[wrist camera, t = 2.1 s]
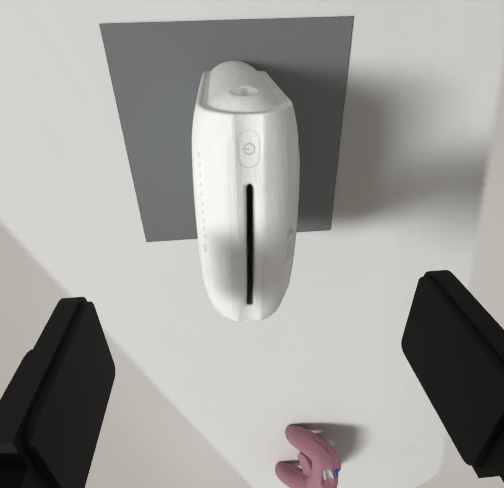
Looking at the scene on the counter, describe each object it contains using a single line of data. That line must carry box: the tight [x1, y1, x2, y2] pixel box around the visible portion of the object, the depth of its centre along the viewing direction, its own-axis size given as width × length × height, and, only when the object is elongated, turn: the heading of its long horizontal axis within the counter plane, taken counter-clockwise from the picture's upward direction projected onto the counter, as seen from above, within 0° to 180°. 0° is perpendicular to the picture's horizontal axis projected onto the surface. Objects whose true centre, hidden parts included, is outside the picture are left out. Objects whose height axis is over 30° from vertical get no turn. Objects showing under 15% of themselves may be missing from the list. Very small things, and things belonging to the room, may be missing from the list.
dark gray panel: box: [99, 16, 353, 242], centre depth 24 cm, size 14×14×1 cm
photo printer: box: [192, 61, 300, 322], centre depth 19 cm, size 10×4×12 cm, turn 0°
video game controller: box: [275, 425, 341, 488], centre depth 43 cm, size 10×5×7 cm, turn 174°
